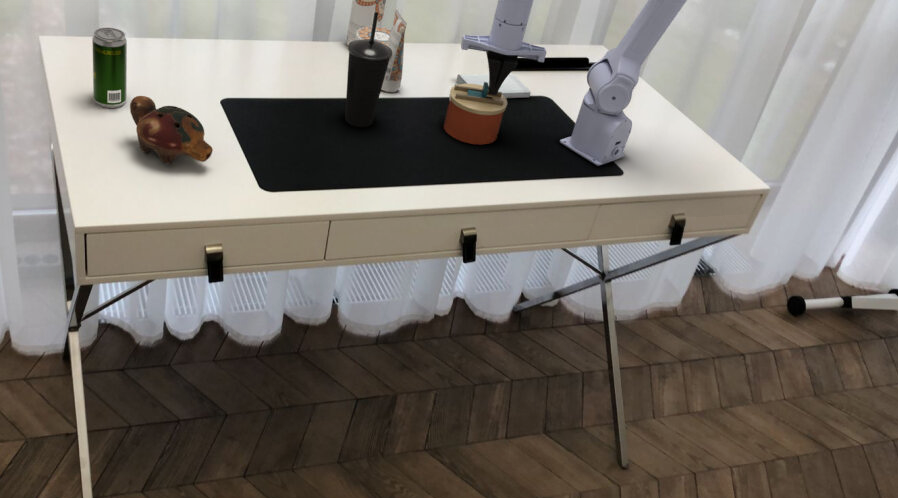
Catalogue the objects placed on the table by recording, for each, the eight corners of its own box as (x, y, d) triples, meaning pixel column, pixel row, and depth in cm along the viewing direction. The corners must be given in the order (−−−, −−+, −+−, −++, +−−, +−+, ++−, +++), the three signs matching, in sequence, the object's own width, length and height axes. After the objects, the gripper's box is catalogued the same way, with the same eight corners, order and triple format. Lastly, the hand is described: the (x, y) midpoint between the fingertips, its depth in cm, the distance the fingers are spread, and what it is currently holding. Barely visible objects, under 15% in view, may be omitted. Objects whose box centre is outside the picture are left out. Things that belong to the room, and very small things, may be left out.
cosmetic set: (416, 97, 185) (435, 1, 173) (369, 96, 182) (386, -2, 170) (378, 40, 203) (394, -50, 191) (336, 38, 200) (349, -53, 188)
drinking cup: (374, 135, 170) (394, 26, 158) (332, 124, 171) (348, 15, 158) (383, 116, 176) (403, 10, 164) (343, 106, 177) (359, 0, 165)
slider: (484, 94, 174) (487, 82, 173) (485, 100, 172) (488, 87, 171) (467, 91, 174) (470, 79, 172) (468, 97, 172) (471, 84, 171)
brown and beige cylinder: (495, 121, 182) (505, 85, 177) (501, 149, 174) (511, 111, 169) (441, 113, 181) (449, 76, 176) (443, 140, 173) (452, 102, 168)
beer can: (132, 105, 164) (132, 38, 157) (102, 111, 161) (101, 43, 154) (117, 91, 167) (117, 25, 160) (87, 96, 164) (86, 29, 157)
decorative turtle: (143, 126, 160) (148, 82, 155) (223, 162, 157) (231, 118, 152) (108, 147, 152) (112, 101, 147) (191, 185, 149) (198, 139, 145)
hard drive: (475, 93, 187) (531, 90, 191) (457, 73, 192) (512, 71, 197) (473, 100, 188) (529, 98, 192) (455, 81, 193) (510, 79, 198)
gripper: (549, 16, 168) (529, 88, 177) (467, 3, 167) (451, 75, 175) (555, 32, 163) (534, 106, 171) (470, 18, 161) (453, 93, 170)
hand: (492, 92), depth 173 cm, fingers closed
